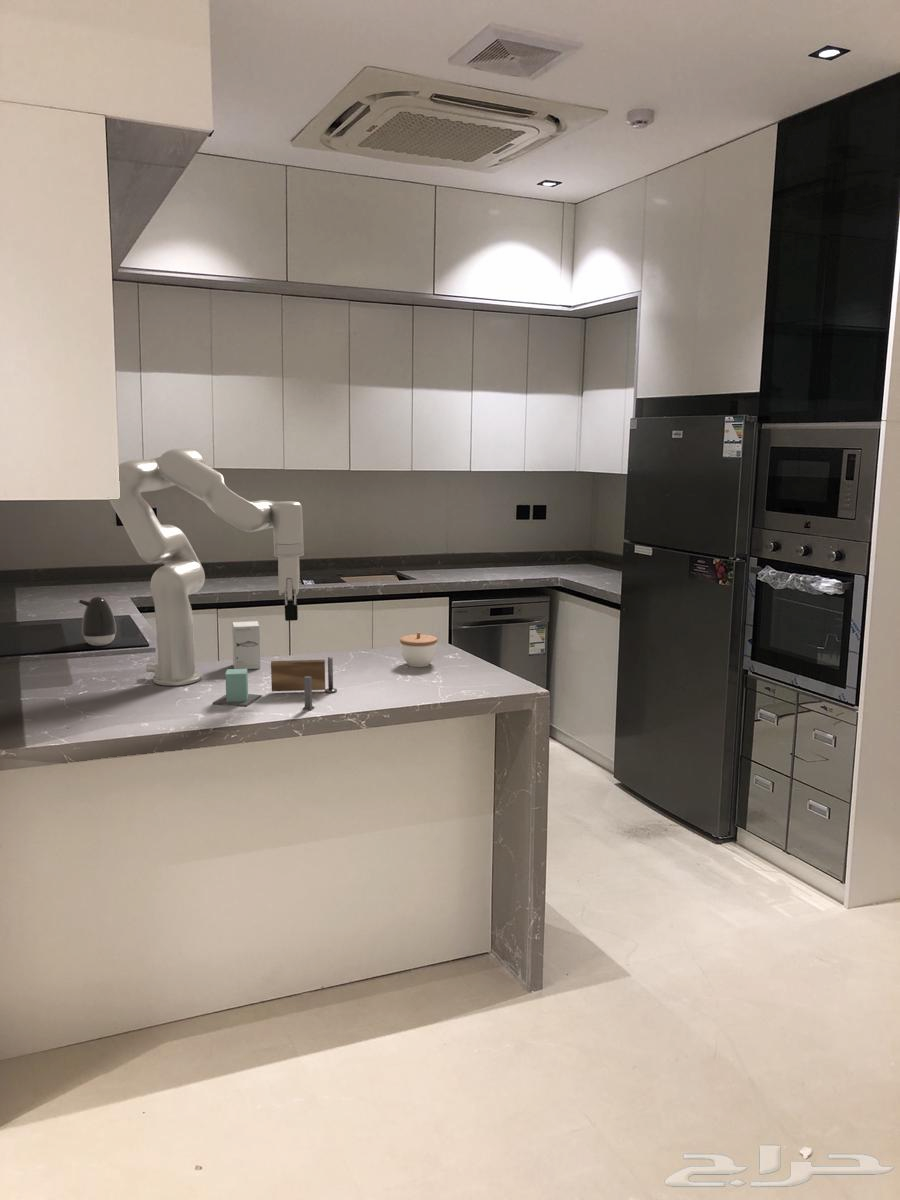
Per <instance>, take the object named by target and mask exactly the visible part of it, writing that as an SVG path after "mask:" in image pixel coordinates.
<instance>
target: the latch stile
mask: <svg viewBox="0 0 900 1200" xmlns="http://www.w3.org/2000/svg"><path fill="white" fill-rule="evenodd" d="M303 695H304V707H302V711H312V710H313V709H315V706H314V705H313V690H312V676H306V677H304V694H303Z"/></svg>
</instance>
